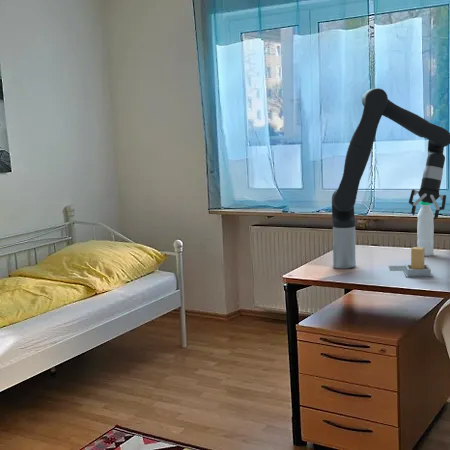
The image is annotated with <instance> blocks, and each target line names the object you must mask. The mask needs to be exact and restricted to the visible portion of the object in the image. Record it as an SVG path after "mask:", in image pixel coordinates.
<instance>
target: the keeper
mask: <svg viewBox="0 0 450 450" xmlns="http://www.w3.org/2000/svg"><path fill="white" fill-rule="evenodd" d="M404 266H405V270H403V271H402V272H403V275H404V277H405V278H434V275H433V274H432V271H431V270H432V269H431V268H430V265H428V264H424V269H411V264H405V265H404Z"/></svg>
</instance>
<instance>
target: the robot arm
mask: <svg viewBox="0 0 450 450" xmlns="http://www.w3.org/2000/svg"><path fill="white" fill-rule="evenodd" d="M361 103H362V106H363V111H362V115H361V119H360V121H359V123H358V125H357V127H356V129H355V130H354V133H353V135H352V137H351V139H350V142H349V145H348V147H347V151H346V155H345V160H344V166H343V174H342V178H341V181H340V183H339V186H338V188H337V189H336V190H335V191H334V192H333V193H332V194H331V195H332V196H331V219H332V256H333V257H332V261H333V262H332V263H333V264H332V265H333V269H334V268H335V269H343V270H344V269H345V270H347V269H353V268H355V267H356V263H357V262H356V261H357V260H356V258H357V257H356V219H355V205H356V200H357V195H358V190H359V186H360V182H361V179H362V177H363V174H364V172H365V170H366V167H367V165H368V161H369V159H370V156H371V153H372V149H373V146H374V142H375V138H376V135H377V131H378V127H379V124H380V121H381V119H382V117H384V118H387V119H389V120H391V121H392V122H394V123H396V124H398V125H400V126H401V127H402V128H404V129H405V130H407V131H409V132H411V134H413V135H416V136H417V137H420V138H423V139H426V140H428V141H427V158H426V162H425V167H424V170H423V174H422V179H421V184H420V186H419V187H420V188H419V190H416V189H411V192H410V195H409V200H408V203H409V205H411V206H412V207H411V211H410V213H411V214H412V216H415V213H416V209H417V205H418V204H420V202H421V201H422V202H427V203H431V204H433V205H434V208H435V211H434V218H433V220H437V219H438V217H439V212H440V211H443V210H445V208H446V202H447V195H446V194H440V190H441V189H440V188H441V184H442V179H443V175H444V166H445V162H446V156H445V154H444V150H445V149H444V148H446V147H447V146H449V145H450V131H449V130H447V129H446V128H443V127H441V126H439V125H437V124H434V123H432V122H430V121H428V120H427V119H425V118H424V117H422V116H420V115H418V114H416V113H414V112H412V111H410V110H408V109H406V108H404V107H401V106H399V105H397V104H395V103H394V102H393V101H391V100H390V99H389V98H388V94H387V92H386V91H385V90H384V89H382V88H379V87H374V88H370V89H368V90H367V91H366V92H364V93H363V95H362V98H361ZM417 194H418V197H419V198H417V200H415V201H413V200H414V196H416V195H417ZM438 199H440V200H441V201H442V202H441V206H439V204H438V203H437V200H438Z"/></svg>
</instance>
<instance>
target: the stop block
mask: <svg viewBox="0 0 450 450" xmlns="http://www.w3.org/2000/svg"><path fill="white" fill-rule="evenodd" d="M410 250H411V252H410V253H411V254H410V256H411V257H410V261H411V263H410V265H411V269H424V265H425V257H426V256H425V248H424V247H418V246H413V247H412V248H411V249H410Z"/></svg>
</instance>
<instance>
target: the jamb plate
mask: <svg viewBox="0 0 450 450" xmlns="http://www.w3.org/2000/svg"><path fill="white" fill-rule="evenodd" d="M388 269H389V272H390V271H391V272H392V271H393V272H396V271H400V272H403V270H405V265H388Z"/></svg>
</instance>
